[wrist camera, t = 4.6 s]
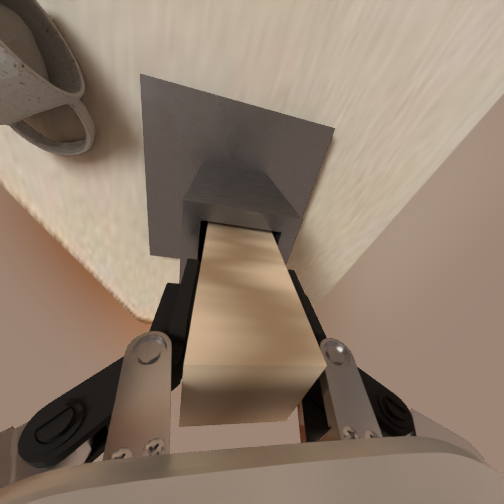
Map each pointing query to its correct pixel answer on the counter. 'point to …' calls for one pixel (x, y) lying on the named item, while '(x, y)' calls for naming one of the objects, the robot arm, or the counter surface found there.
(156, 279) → the counter surface
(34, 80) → the ceramic mug
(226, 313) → the post
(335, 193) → the counter surface
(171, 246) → the stand
